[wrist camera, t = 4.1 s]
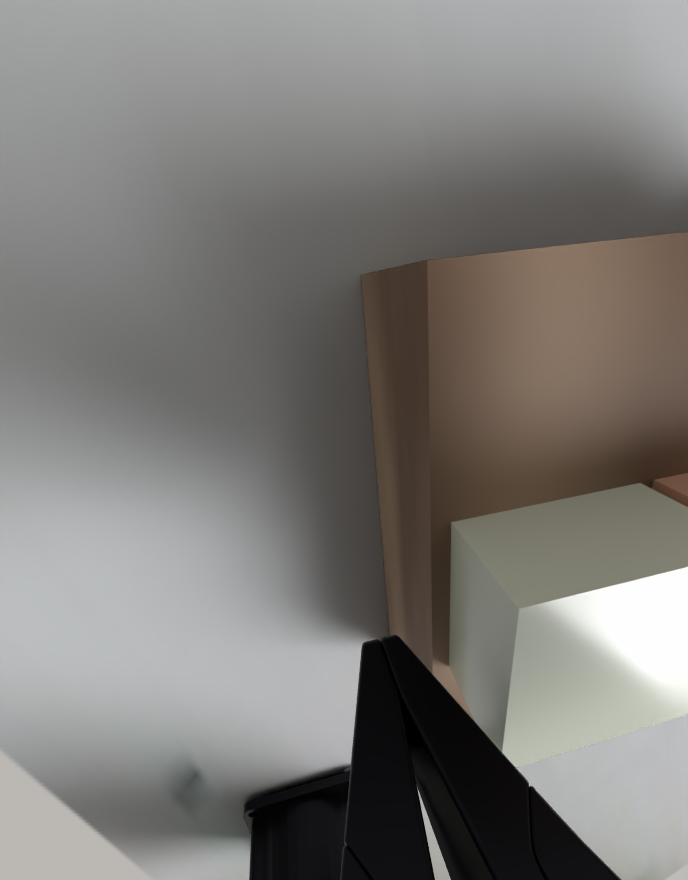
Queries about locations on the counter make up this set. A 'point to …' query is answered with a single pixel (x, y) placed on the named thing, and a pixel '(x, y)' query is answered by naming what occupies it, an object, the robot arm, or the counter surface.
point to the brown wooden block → (516, 398)
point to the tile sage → (571, 619)
